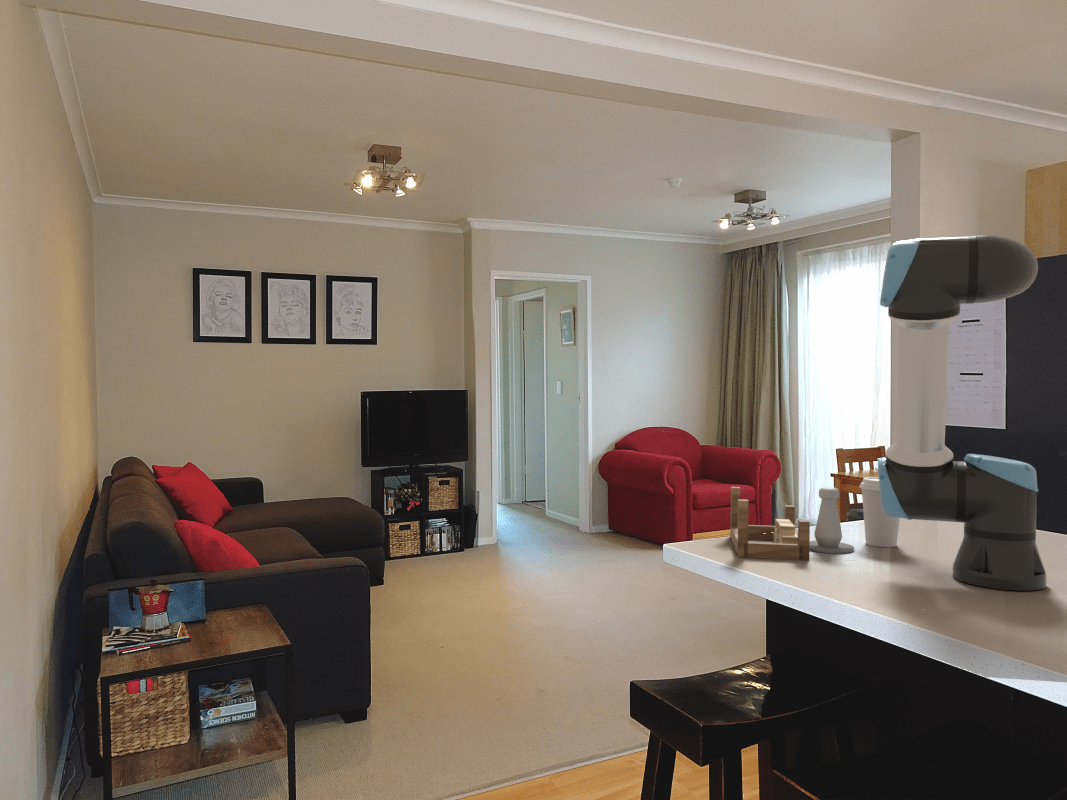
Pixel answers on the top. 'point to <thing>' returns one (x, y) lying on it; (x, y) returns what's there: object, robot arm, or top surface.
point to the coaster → (840, 549)
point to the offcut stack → (785, 532)
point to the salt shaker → (828, 519)
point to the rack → (765, 550)
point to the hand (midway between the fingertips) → (915, 418)
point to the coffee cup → (877, 516)
